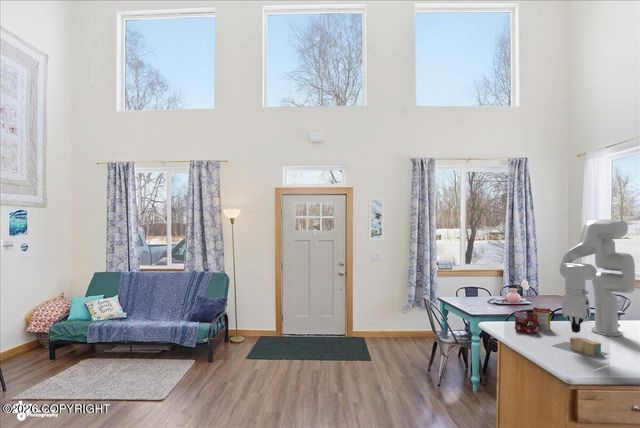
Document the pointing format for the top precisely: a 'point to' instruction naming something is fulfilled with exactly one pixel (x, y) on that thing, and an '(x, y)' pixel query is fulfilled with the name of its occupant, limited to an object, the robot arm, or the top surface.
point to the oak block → (585, 345)
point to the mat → (567, 347)
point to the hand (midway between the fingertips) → (575, 331)
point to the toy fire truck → (526, 322)
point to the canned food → (542, 316)
